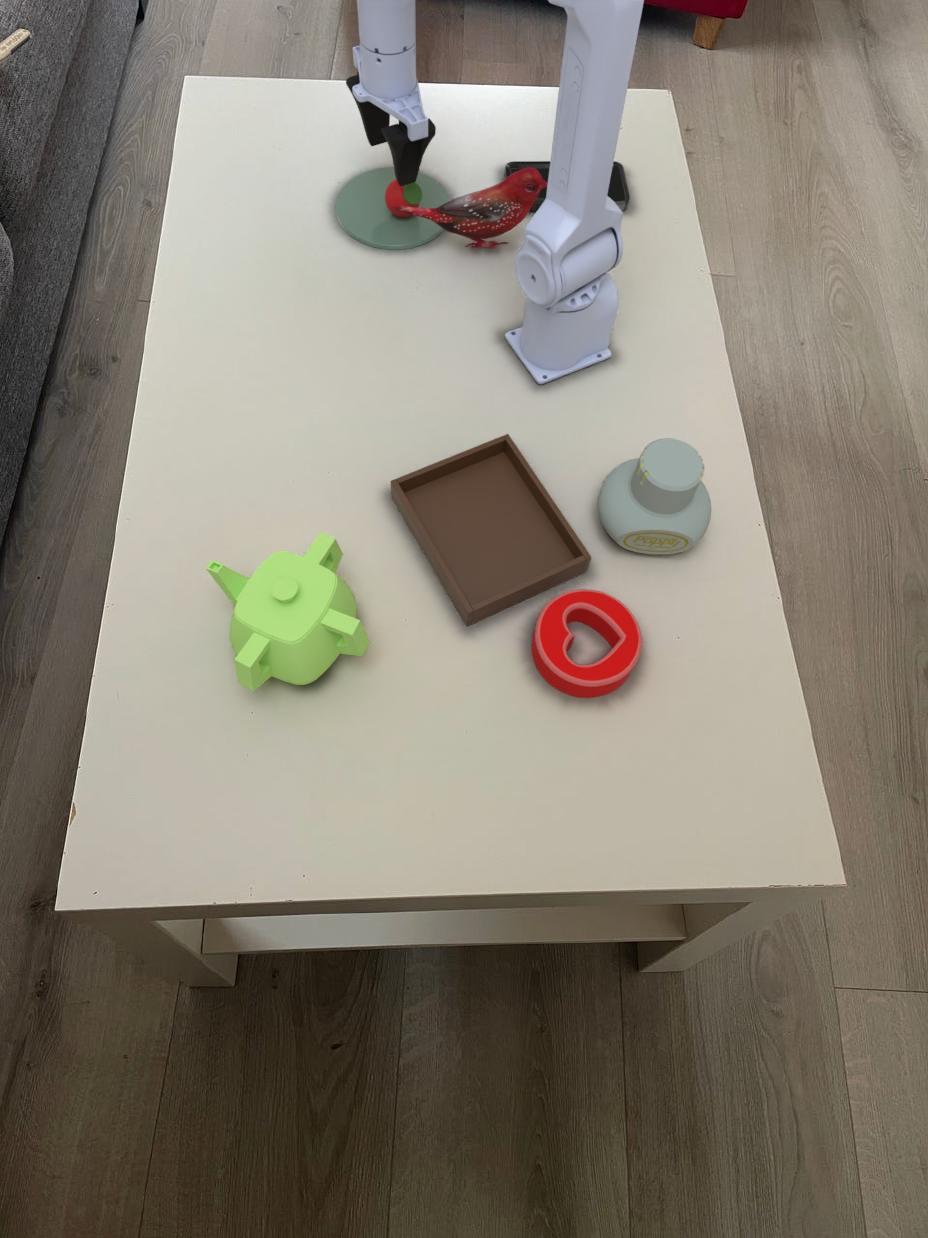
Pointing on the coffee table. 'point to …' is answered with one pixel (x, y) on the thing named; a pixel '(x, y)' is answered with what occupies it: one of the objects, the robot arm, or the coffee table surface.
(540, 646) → the decorative ornament
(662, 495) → the air freshener
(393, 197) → the strawberry
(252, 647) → the teapot
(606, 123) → the robot arm
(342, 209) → the plate
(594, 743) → the coffee table surface
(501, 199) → the decorative bird figurine
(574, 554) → the tray
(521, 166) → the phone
